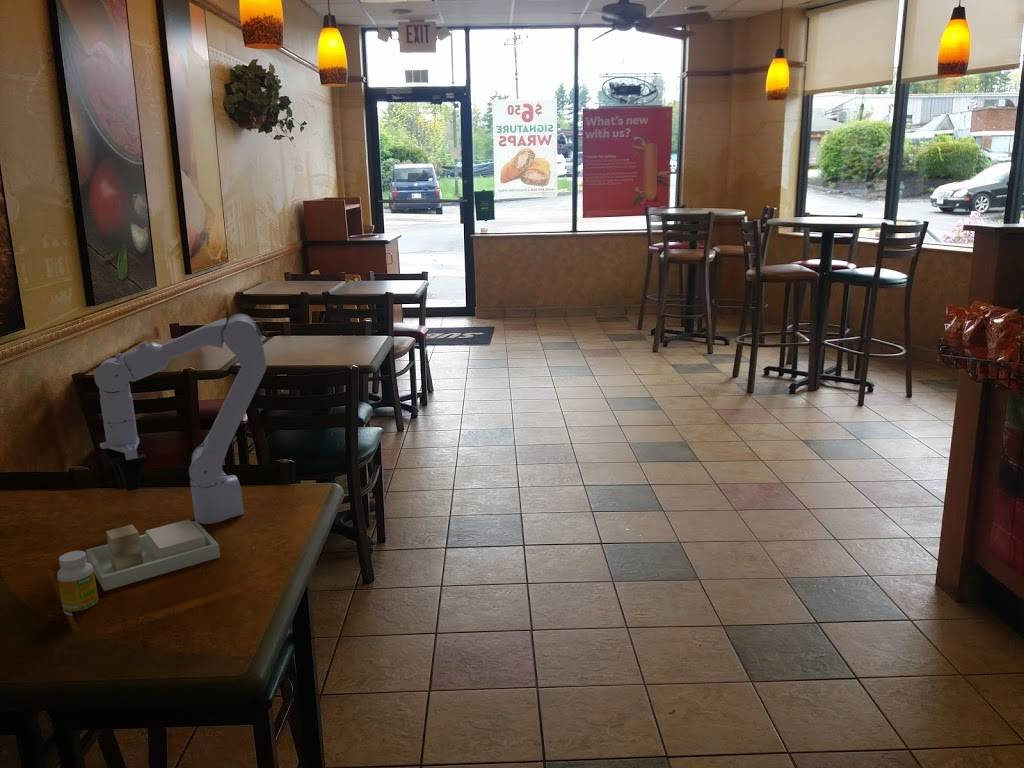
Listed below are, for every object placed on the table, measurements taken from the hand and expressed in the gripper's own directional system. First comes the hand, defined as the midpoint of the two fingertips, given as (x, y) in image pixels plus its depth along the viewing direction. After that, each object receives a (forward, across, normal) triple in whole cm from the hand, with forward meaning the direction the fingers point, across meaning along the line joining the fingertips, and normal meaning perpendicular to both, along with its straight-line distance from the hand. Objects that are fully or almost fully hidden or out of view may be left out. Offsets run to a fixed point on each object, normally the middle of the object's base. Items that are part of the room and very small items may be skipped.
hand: (128, 484), depth 165 cm
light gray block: (+9, +18, +4) cm, 21 cm away
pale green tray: (+10, +18, -1) cm, 21 cm away
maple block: (+9, +18, -5) cm, 21 cm away
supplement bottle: (+11, +27, -15) cm, 33 cm away
